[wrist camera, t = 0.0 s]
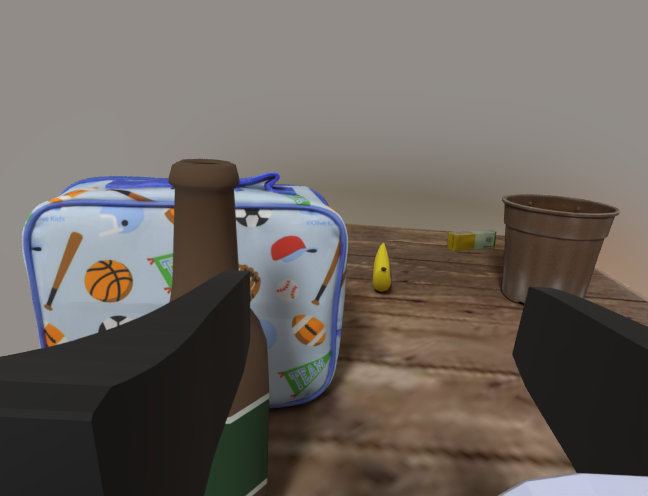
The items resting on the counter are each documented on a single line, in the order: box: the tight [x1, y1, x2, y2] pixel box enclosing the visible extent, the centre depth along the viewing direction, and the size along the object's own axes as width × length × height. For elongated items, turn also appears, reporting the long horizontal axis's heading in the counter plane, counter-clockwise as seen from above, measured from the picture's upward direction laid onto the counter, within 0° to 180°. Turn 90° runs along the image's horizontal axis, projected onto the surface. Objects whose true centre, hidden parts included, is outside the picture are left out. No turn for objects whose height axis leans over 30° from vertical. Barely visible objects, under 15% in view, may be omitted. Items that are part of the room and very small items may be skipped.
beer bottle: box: [168, 159, 269, 496], centre depth 27 cm, size 8×8×24 cm
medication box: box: [447, 230, 496, 251], centre depth 102 cm, size 12×3×4 cm, turn 113°
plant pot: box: [502, 194, 620, 304], centre depth 71 cm, size 16×16×16 cm
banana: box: [373, 243, 391, 292], centre depth 74 cm, size 3×19×6 cm, turn 173°
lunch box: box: [22, 172, 348, 408], centre depth 41 cm, size 28×10×22 cm, turn 101°
